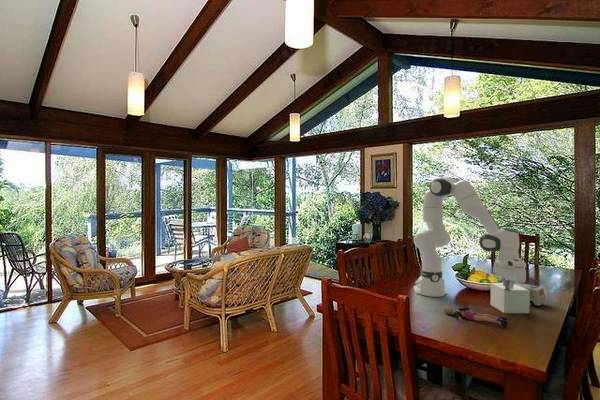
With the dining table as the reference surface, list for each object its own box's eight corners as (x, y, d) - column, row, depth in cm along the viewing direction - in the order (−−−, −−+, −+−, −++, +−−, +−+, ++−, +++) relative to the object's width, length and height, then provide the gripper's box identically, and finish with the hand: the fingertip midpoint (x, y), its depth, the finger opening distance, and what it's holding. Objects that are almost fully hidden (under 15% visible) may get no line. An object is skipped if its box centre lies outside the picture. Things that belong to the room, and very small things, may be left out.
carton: (490, 304, 192) (490, 283, 191) (512, 304, 191) (512, 283, 191) (504, 313, 178) (504, 289, 178) (528, 313, 178) (528, 290, 178)
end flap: (503, 312, 179) (503, 279, 178) (527, 312, 179) (528, 280, 178) (506, 313, 176) (506, 281, 176) (530, 313, 176) (531, 281, 176)
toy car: (498, 294, 211) (498, 278, 211) (546, 304, 192) (546, 286, 192) (490, 297, 205) (490, 280, 204) (539, 308, 185) (539, 290, 185)
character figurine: (509, 322, 168) (449, 308, 186) (510, 313, 168) (449, 299, 186) (501, 336, 153) (436, 318, 170) (502, 326, 152) (437, 309, 170)
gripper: (490, 256, 186) (489, 282, 187) (516, 264, 166) (515, 293, 166) (501, 256, 187) (500, 281, 187) (529, 264, 167) (528, 293, 167)
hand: (508, 287), depth 177 cm, fingers open, 3 cm apart
